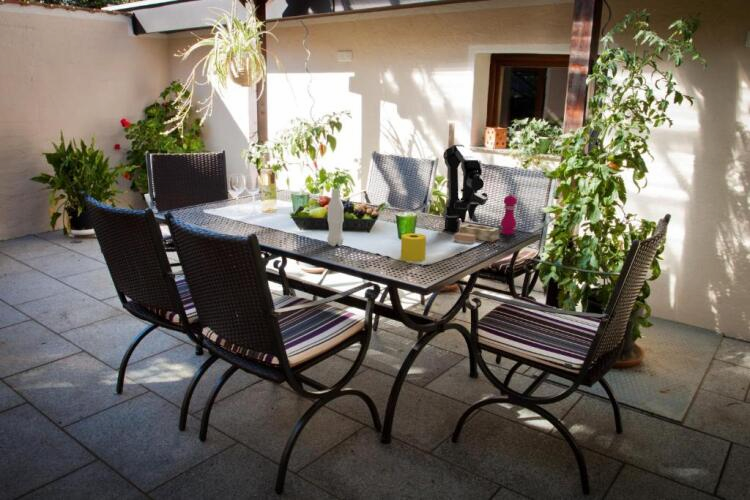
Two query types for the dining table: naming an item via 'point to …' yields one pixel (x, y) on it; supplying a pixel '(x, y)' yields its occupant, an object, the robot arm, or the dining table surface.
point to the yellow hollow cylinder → (413, 247)
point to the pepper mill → (509, 215)
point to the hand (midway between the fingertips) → (467, 220)
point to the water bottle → (335, 219)
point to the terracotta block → (465, 237)
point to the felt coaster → (465, 241)
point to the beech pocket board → (481, 232)
